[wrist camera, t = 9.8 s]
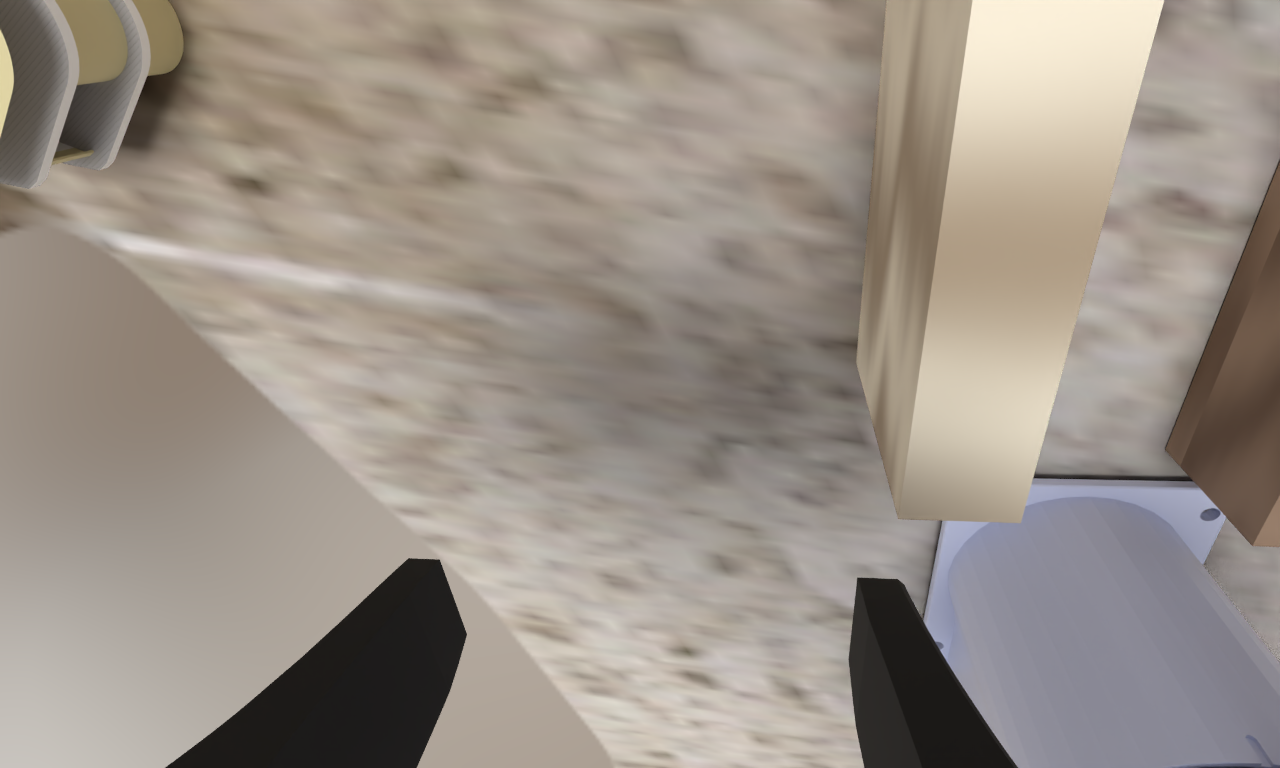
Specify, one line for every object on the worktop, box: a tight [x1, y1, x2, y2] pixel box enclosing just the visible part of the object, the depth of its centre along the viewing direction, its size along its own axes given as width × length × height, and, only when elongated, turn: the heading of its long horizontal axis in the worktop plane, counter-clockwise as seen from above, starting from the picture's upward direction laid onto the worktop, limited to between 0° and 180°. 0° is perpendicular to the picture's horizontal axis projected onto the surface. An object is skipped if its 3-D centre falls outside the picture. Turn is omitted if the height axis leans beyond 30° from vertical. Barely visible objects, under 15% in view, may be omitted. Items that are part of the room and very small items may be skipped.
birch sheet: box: [856, 0, 1164, 523], centre depth 13 cm, size 12×2×7 cm, turn 6°
